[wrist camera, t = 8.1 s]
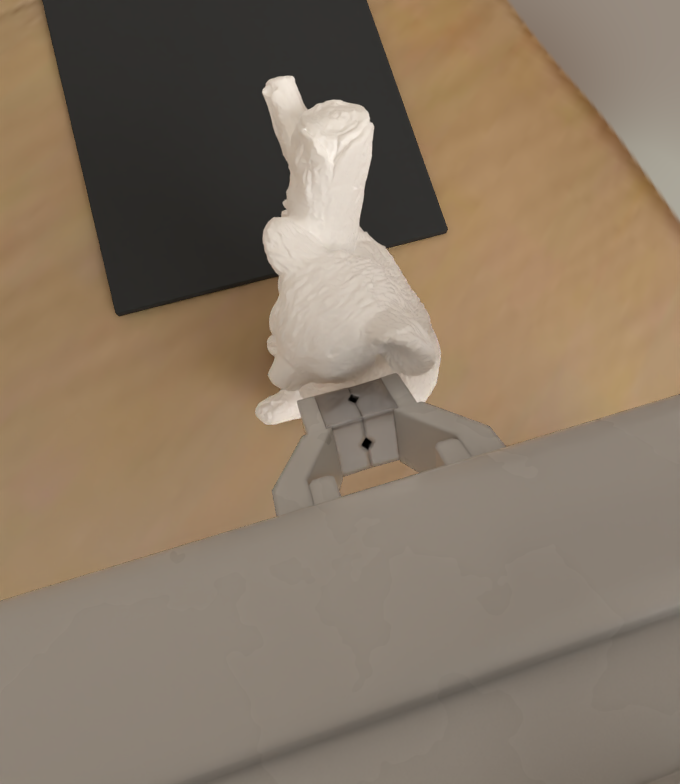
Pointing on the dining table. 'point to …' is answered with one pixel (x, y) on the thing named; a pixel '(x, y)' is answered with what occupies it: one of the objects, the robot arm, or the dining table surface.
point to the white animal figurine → (334, 267)
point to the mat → (219, 132)
